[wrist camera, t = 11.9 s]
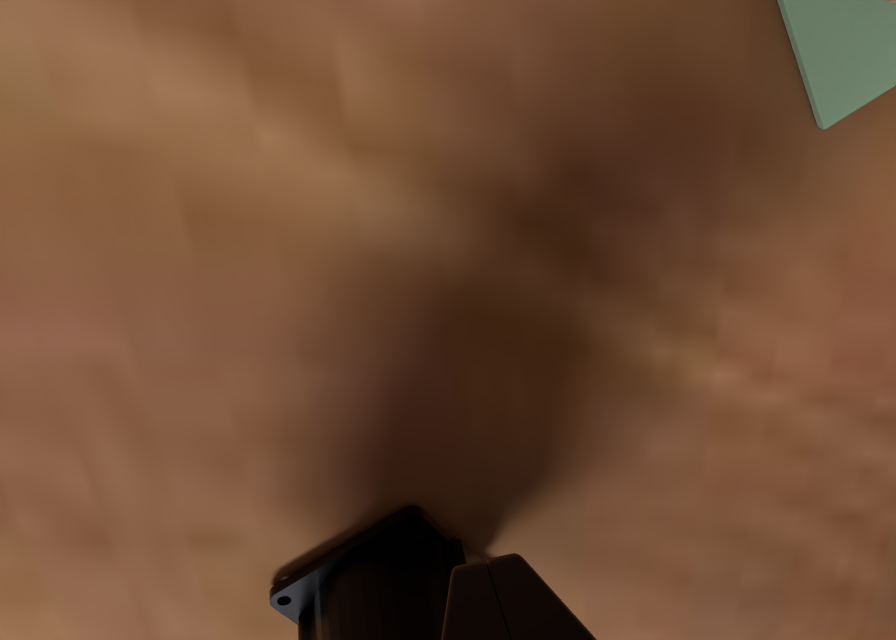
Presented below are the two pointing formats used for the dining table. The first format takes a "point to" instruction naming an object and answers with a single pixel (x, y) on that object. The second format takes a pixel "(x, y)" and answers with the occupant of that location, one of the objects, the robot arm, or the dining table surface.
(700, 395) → the dining table surface
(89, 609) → the dining table surface
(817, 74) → the felt pad
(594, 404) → the dining table surface
